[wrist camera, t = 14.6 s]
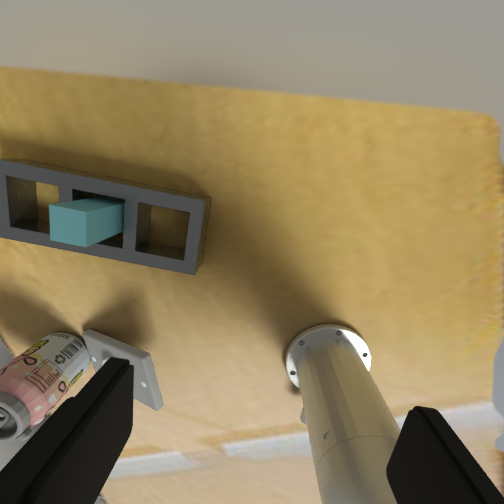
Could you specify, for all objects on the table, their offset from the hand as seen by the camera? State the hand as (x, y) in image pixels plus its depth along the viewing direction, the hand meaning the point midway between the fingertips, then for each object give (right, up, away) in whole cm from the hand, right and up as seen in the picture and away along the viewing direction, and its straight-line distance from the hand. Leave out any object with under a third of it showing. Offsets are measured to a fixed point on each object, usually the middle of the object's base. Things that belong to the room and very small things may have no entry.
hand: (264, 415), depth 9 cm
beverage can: (-30, -11, +32) cm, 45 cm away
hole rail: (-18, +10, +25) cm, 33 cm away
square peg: (-18, +11, +25) cm, 33 cm away
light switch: (-19, -10, +32) cm, 38 cm away
